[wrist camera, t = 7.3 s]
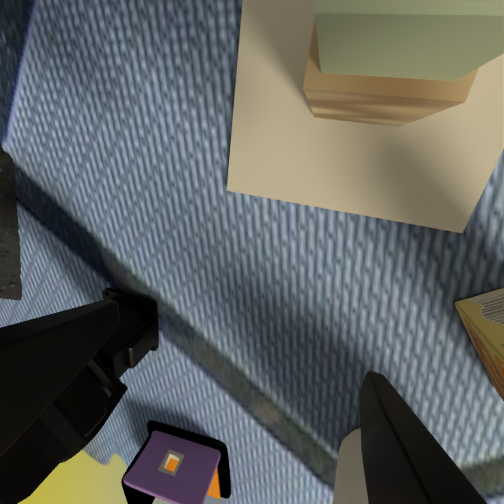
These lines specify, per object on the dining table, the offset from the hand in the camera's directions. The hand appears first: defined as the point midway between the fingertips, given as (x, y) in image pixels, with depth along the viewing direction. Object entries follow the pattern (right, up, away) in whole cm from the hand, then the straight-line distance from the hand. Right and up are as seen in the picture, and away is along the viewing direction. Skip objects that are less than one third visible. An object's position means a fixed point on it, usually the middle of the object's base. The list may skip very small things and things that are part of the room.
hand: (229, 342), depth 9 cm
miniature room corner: (-8, -26, +27) cm, 38 cm away
